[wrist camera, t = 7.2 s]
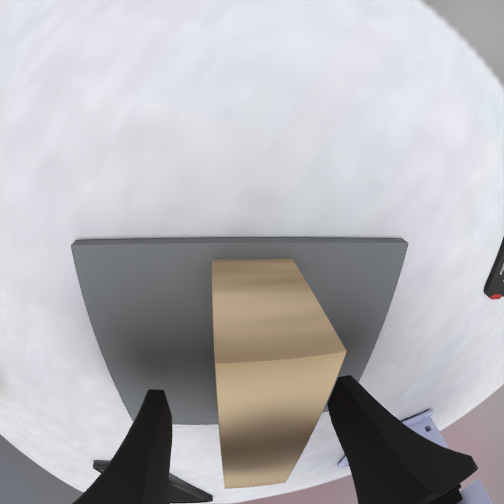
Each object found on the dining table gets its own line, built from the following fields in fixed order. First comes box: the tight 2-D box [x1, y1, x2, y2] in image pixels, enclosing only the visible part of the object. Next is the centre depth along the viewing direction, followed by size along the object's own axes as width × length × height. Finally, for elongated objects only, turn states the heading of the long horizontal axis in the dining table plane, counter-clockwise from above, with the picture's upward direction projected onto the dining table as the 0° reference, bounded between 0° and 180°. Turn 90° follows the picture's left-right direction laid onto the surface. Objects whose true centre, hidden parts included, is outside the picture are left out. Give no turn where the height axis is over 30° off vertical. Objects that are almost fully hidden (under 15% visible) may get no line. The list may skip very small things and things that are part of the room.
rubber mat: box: [71, 238, 408, 425], centre depth 13 cm, size 14×12×1 cm
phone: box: [93, 460, 213, 503], centre depth 21 cm, size 8×1×15 cm
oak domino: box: [212, 259, 347, 489], centre depth 10 cm, size 10×3×5 cm, turn 177°
